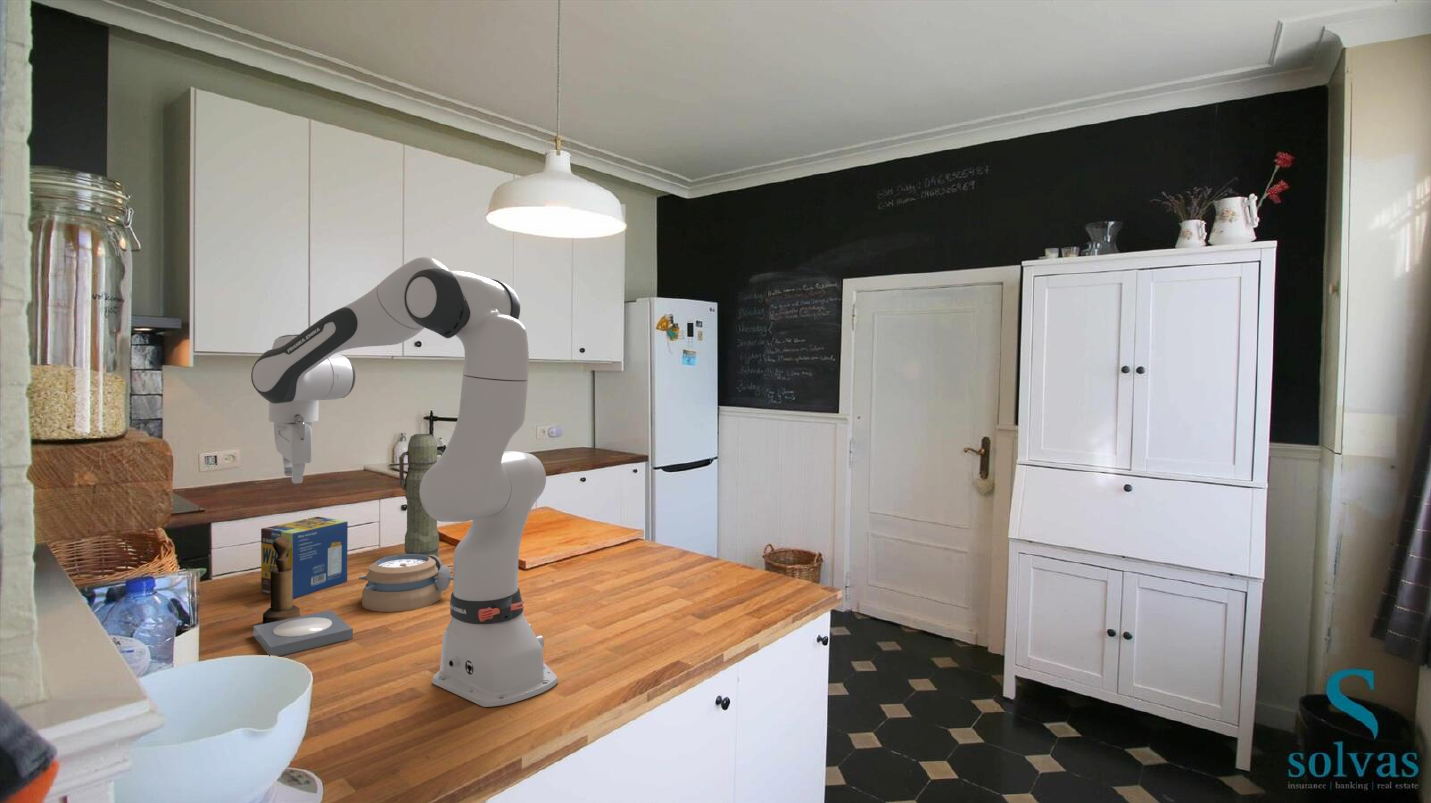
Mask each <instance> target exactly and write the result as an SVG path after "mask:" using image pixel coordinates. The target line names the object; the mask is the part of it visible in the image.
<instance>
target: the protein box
mask: <svg viewBox="0 0 1431 803" xmlns="http://www.w3.org/2000/svg"><path fill="white" fill-rule="evenodd" d="M348 524H349V523H348V521H347V520H340V519H335V518H334V519H333V518H329V517H324V516H323V517H322V516H314V517H310V518H305V519H300V520H295V521H291V522H287V523H281V524H278V525H273V526H268V527H267V526H266V527H262V528H261V529H260V541H261V542H260V550H261V551H260V554H261V555H260V558H261V560H260V561H261V562H260V564H261V565H260V567H261V568H260V572H261V573H260V579H261V580H260V583H261V584H260V587H261V589H260V590H261V594H266V595H270V596H271V570H273V569H276V568H277V565H276V562H275V559H276V558H277V556H278V555H277V552H276V551H275V549H274V548H273V542H274V540H275V539H276V538H278V537H287V538H288V539H289V541H290V545H289V547H288V549H287V551H286V557H288V561H287V565H286V567H290V568H292V600H294V599H297V598H300V597H302V596H307V595H310V594H313V593H316V592H318V591H322V590H325V589H328V588H329V589H330V588H332V587H334V586H337V585H342V584H345V583H347V582H348V546H349V545H348V544H349V543H348V542H349V541H348V535H349V534H348V533H349V532H348V529H349V528H348V527H349V526H348Z"/></svg>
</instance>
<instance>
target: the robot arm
mask: <svg viewBox="0 0 1431 803" xmlns="http://www.w3.org/2000/svg"><path fill="white" fill-rule="evenodd" d="M520 313H521V302H520V299H519V297H518V295H517V293H516V291H515V289H513V288H512V287H510V286H509V285H508V284H506V283H504V282H502V281H500V280H497V279H495V278H493V279H492V278H487V277H484V276H480V275H476V274H475V273H472V272H467V271H462V270H461V271H460V270H449V269H448V268H447V267H446V266H445V265H444V264H443V263H442V262H440V261H438V260H436V259H434V258H431V257H427V256H426V257H425V256H421V257H417V258H414V259H412V260H410V261H409V262H406V263H405V264H403V265H402V266H400V267H398V268H397V269H396V270H394V271H393V272H391V273H390V274H389V275H388V276H386V277H385V278H384V279H383V280H381V282H380V283H379V284H377V285H376V286H375V287H374V288H372V289H371V290H370V291H368V292H367V293H366V294H363V295H362V296H361V297H359V298H357V299H356V300H354V301H353V302H351V303H348V304H346V305H344V306H343V307H340V308H338V309H336V310H333V311H332V312H330V313H329V314H327V315H325V316H323V317H322V318H320V319H319V320H317V321H316V322H315V323H313V324H312V325H310V326H309V327H308V328H307V329H306V328H305V330H303V331H302V332H301V333H299V334H286V335H282V336H278V337H277V338H275V339H274V341H273V344H272V348H271V349H268V350H266V351H265V352H264V353H262V354H261V355H260V356H259V357H258V358H257V360H256V361H255V363H254V364H253V366H252V368H251V369H252V370H251V374H250V375H251V376H250V379H251V380H250V381H251V384H252V387H253V388H254V389H255V390H256V391H257V393H258V394H259V395H260V396H261V397H263V399H265V400H266V401H268V421H269V422H270V423H273V432H274V442H275V448H276V450H277V452H278V453H279V454H280V455H282V463H283V464H282V465H283V474H284V476H286V477H291V483H293V484H302V483H303V481H304V472H305V467H306V464H309V463H312V460H313V431H312V426H313V425H312V423H317V422H319V418H320V417H319V415H320V414H319V413H320V412H319V409H320V401H329V400H331V401H332V400H333V401H334V400H339V399H343V398H345V397H347V396H349V395H350V393H351V392H352V390H353V389H354V387H355V384H356V370H355V367H354V364H353V362H351V360H350V359H349V358H348V357H347V356H346V355H343V354H339V353H341V352H343V351H346V350H350V349H357V348H365V347H368V348H369V347H382V346H385V347H386V346H395V345H399V344H401V343H402V344H403V343H404V342H406V341H408V340H410V339H411V338H414V337H415V336H416V335H418V334H419V333H421V331H423V330H424V329H426V330H429V331H432V332H434V333H437V334H438V335H439V336H441V337H444V338H445V339H451V338H452V337H457V338H458V339H459V340H460V341H461V343H462V345H463V349H464V360H463V361H464V362H463V369H462V379H461V380H462V382H461V391H460V401H459V411H458V414H457V420H456V424H455V426H454V430H453V431H452V432H453V433H452V435H451V437H450V439H449V441H448V444H447V445H446V447H445V449H444V451H442V452H443V454H442V455H441V454H440V457H439V458H438V459H437V462H436V463H435V464H434V465H433V466H432V467H431V468H430V469H429V470H428V471H427V472H426V473H425V474H424V476H423V478H422V481H421V484H420V500H421V503H422V506H423V508H424V509H425V511H426V512H427V513H428V515H429V516H430V517H432V518H433V519H435V520H437V522H441V523H443V522H445V523H466V522H469V521H470V522H471V524H470V526H469V528H468V529H467V532H466V534H465V535H464V537H463V538H461V540H460V541H459V542H458V543H457V545H456V546H455V549H454V553H453V565H454V567H452V568H453V570H452V574H453V575H452V576H453V580H452V581H453V582H452V583H453V589H452V590H453V591H452V592H451V594H450V600H449V608H450V610H449V611H450V612H449V613H450V616H451V619H450V621H449V623H448V625H447V627H446V628H445V630H444V631H443V633H442V640H441V642H442V643H441V652H440V663H439V664H440V665H439V670H438V671H437V672H436V673H435V674H434V675H433V677H432V681H431V682H432V684H433V685H435V686H437V687H439V688H442V689H444V690H446V691H448V692H450V693H452V694H455V695H457V696H459V697H461V698H463V699H466V700H468V701H469V702H472V703H475V704H476V705H479V706H481V707H483V708H487V707H489V708H490V707H498V706H499V707H500V706H505V705H509V704H513V703H518V702H521V701H523V700H527V699H529V698H532V697H534V696H538V695H540V694H542V693H544V692H546V691H548V690H550V689H552V688H553V687H555V686H556V685H557V683H558V682H559V680H558V675H557V674H556V673H555V672H554V670H552V669H551V668H550V667H549V666H548V665H547V664H546V662H544V651H543V648H544V647H545V640H544V637H543V635H537V636H536V634H535V632H534V630H533V629H532V624H531V623H529V622H528V621H527V619H526V616H525V615H524V608H525V606H523V604H524V603H525V601H523V596H522V593H521V590H520V587H518V586H519V560H520V558H519V556H520V555H519V554H520V549H521V548H520V547H521V541H522V537H523V535H524V534H523V533H524V531H525V527H526V523H527V520H528V518H529V515H530V513H531V510H532V509H533V506H534V504H535V503H536V502H537V501H538V499H539V498H540V496H541V495H542V494H543V492H544V490H545V487H546V484H547V483H546V482H547V474H546V469H545V467H544V465H543V463H542V461H541V460H540V459H539V458H538V457H537V456H535V455H534V454H532V453H530V452H529V453H528V452H523V451H515V450H506V449H507V447H508V445H509V443H510V441H511V439H512V438H513V436H514V435H515V434H516V433H517V432H519V430H520V429H521V428H522V426H523V424H524V422H525V418H526V408H527V394H528V386H529V385H528V384H529V366H530V364H529V363H530V360H529V359H530V357H529V356H530V355H529V342H528V335H527V328H526V327H525V326H524V324H523V323H522V322H521V321H520V320H519V319H520V315H521V314H520Z"/></svg>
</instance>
